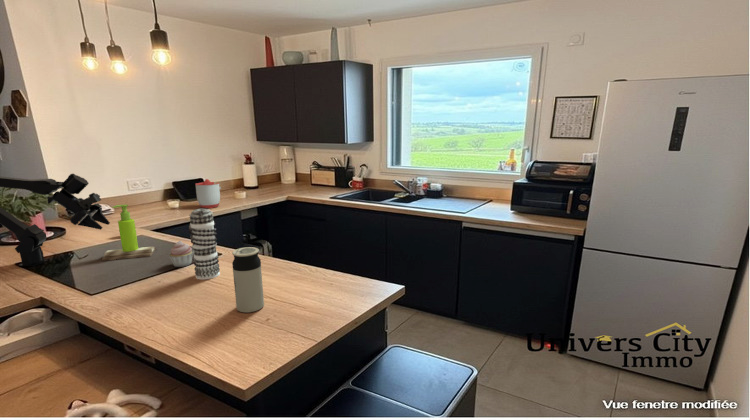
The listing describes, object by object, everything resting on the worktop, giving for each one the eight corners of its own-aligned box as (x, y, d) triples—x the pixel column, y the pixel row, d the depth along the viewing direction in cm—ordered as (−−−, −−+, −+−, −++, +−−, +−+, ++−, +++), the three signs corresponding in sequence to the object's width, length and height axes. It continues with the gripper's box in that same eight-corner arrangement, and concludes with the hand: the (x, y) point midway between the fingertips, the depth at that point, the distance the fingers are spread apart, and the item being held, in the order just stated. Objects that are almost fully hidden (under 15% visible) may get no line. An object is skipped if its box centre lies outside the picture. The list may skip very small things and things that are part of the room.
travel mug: (266, 301, 119) (262, 246, 115) (260, 313, 111) (255, 255, 107) (241, 301, 119) (236, 247, 115) (233, 313, 111) (227, 255, 107)
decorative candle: (195, 272, 143) (187, 208, 138) (221, 269, 147) (215, 206, 141) (193, 281, 135) (185, 213, 130) (221, 277, 138) (214, 211, 133)
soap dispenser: (119, 249, 164) (111, 204, 160) (137, 246, 169) (130, 202, 164) (120, 253, 160) (113, 207, 156) (139, 249, 164) (132, 204, 160)
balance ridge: (102, 260, 158) (101, 255, 157) (111, 253, 167) (110, 248, 167) (150, 256, 163) (149, 251, 162) (156, 249, 172) (155, 244, 172)
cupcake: (200, 261, 156) (198, 238, 154) (183, 269, 147) (180, 245, 145) (182, 259, 158) (179, 236, 156) (164, 267, 149) (160, 243, 147)
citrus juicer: (228, 205, 272) (225, 178, 267) (206, 210, 257) (203, 180, 253) (214, 203, 280) (212, 176, 276) (192, 207, 265) (189, 179, 261)
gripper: (75, 190, 147) (112, 216, 153) (93, 185, 164) (125, 208, 170) (54, 212, 146) (92, 237, 152) (74, 204, 163) (107, 226, 169)
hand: (105, 226), depth 161 cm, fingers open, 9 cm apart
